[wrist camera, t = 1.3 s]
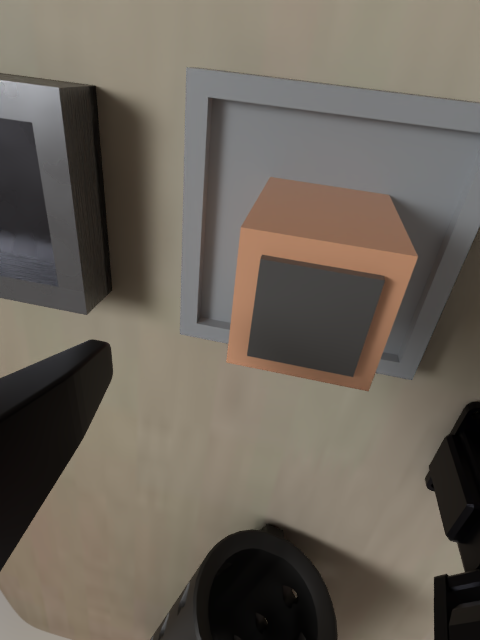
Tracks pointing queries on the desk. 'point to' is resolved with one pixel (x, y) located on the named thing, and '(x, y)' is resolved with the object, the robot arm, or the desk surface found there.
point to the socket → (51, 195)
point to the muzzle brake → (252, 594)
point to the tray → (326, 169)
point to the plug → (318, 282)
